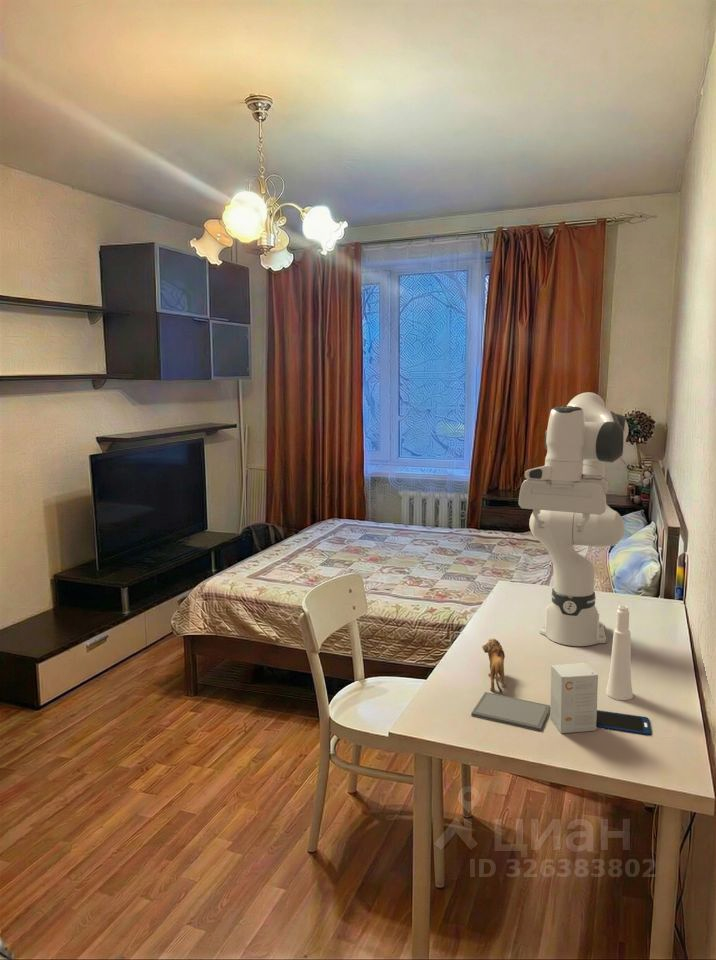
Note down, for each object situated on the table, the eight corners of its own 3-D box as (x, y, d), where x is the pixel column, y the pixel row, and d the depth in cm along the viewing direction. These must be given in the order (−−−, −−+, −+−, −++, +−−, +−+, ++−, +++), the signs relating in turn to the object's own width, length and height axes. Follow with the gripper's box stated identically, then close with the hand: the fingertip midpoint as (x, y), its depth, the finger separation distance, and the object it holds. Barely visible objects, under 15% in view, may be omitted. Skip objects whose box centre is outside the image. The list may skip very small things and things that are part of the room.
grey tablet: (485, 694, 158) (485, 691, 158) (550, 708, 151) (550, 705, 151) (471, 715, 148) (471, 712, 148) (540, 731, 141) (540, 728, 141)
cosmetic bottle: (623, 687, 160) (627, 601, 157) (638, 699, 154) (642, 610, 151) (600, 689, 159) (604, 603, 156) (614, 701, 153) (618, 612, 150)
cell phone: (651, 737, 138) (651, 734, 138) (582, 727, 143) (582, 724, 143) (649, 720, 145) (649, 717, 145) (583, 711, 150) (583, 707, 150)
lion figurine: (480, 668, 172) (481, 636, 170) (501, 668, 172) (501, 635, 170) (491, 695, 157) (492, 660, 156) (513, 695, 157) (514, 659, 156)
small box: (583, 716, 147) (585, 661, 145) (596, 731, 141) (599, 674, 139) (549, 719, 146) (550, 664, 144) (560, 734, 140) (562, 677, 138)
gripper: (610, 475, 155) (607, 532, 156) (524, 470, 165) (521, 524, 165) (607, 476, 150) (603, 535, 151) (518, 471, 159) (515, 527, 160)
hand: (560, 530), depth 158 cm, fingers open, 8 cm apart
